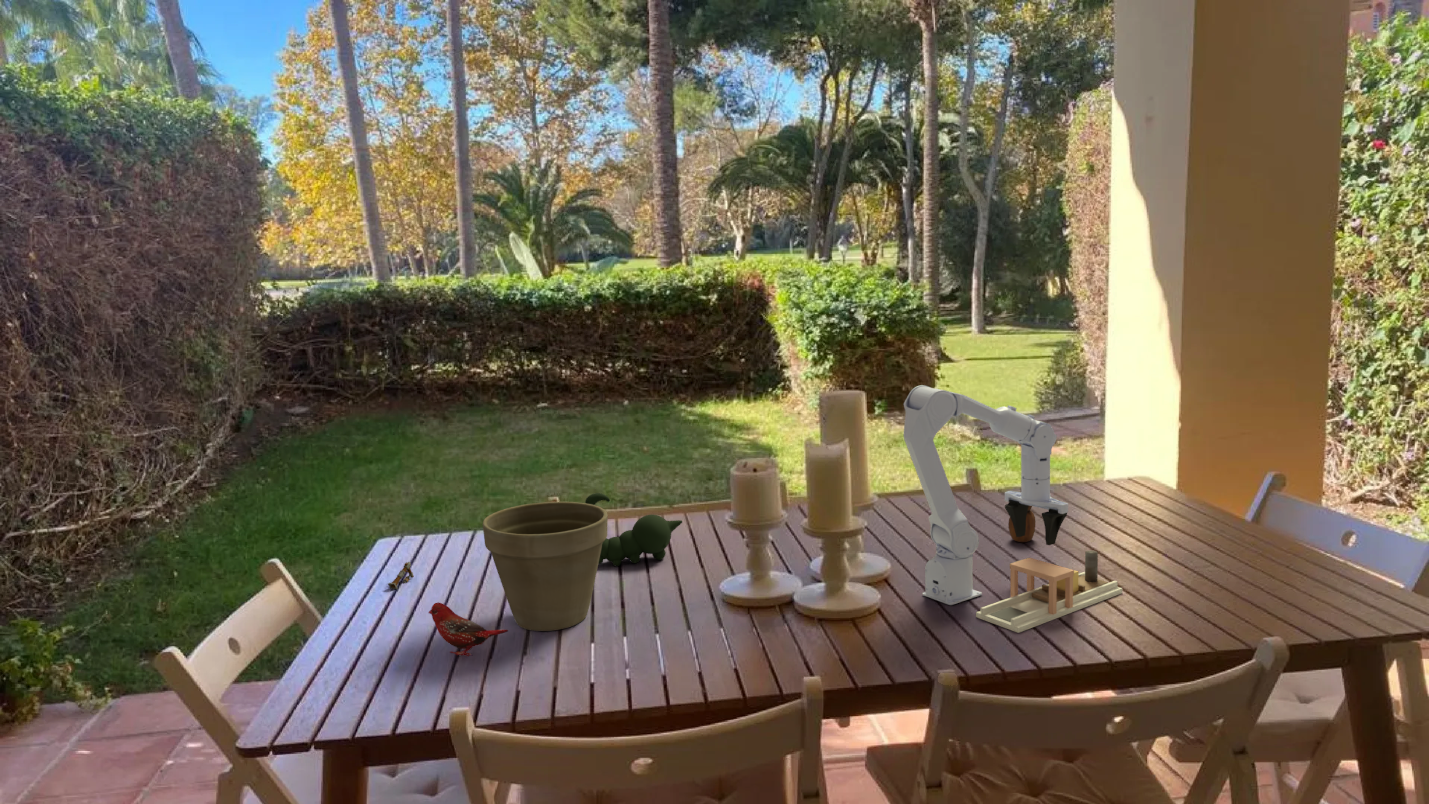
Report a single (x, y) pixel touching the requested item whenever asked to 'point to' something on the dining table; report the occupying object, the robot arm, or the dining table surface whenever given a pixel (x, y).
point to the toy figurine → (636, 537)
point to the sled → (1084, 581)
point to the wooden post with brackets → (401, 574)
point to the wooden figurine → (1029, 527)
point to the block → (1075, 582)
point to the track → (1033, 612)
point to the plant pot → (547, 560)
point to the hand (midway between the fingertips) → (1035, 540)
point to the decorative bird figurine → (459, 629)
